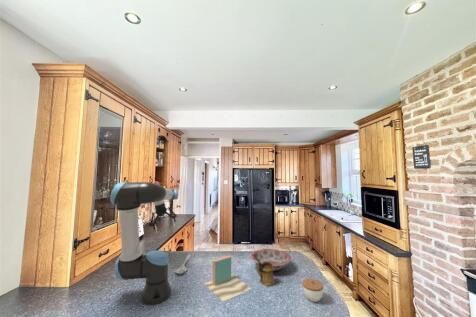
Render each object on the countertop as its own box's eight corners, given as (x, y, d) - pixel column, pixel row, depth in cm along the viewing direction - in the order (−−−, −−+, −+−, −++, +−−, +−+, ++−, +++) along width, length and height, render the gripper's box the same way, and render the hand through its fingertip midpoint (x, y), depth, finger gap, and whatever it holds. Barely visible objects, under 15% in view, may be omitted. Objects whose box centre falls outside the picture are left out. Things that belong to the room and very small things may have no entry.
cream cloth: (204, 284, 120) (204, 283, 120) (230, 274, 132) (230, 273, 132) (223, 303, 103) (223, 301, 103) (251, 289, 115) (251, 288, 115)
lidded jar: (321, 294, 110) (320, 276, 111) (325, 306, 99) (324, 286, 100) (301, 291, 112) (301, 274, 113) (303, 303, 102) (303, 284, 103)
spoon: (184, 276, 131) (184, 272, 131) (172, 276, 131) (173, 272, 131) (194, 257, 166) (194, 254, 166) (184, 257, 165) (184, 254, 166)
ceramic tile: (212, 283, 120) (212, 260, 121) (228, 277, 127) (228, 255, 128) (215, 286, 117) (215, 261, 119) (231, 279, 124) (231, 256, 126)
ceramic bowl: (290, 280, 124) (289, 267, 125) (246, 274, 133) (245, 261, 134) (292, 261, 151) (292, 251, 152) (256, 257, 161) (255, 247, 161)
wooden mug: (251, 280, 125) (251, 251, 127) (272, 278, 127) (271, 249, 129) (254, 287, 116) (254, 256, 118) (276, 286, 118) (275, 255, 120)
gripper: (174, 198, 162) (180, 222, 164) (142, 208, 151) (149, 234, 153) (176, 199, 156) (182, 224, 157) (142, 210, 145) (149, 237, 146)
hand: (166, 229), depth 155 cm, fingers open, 13 cm apart
